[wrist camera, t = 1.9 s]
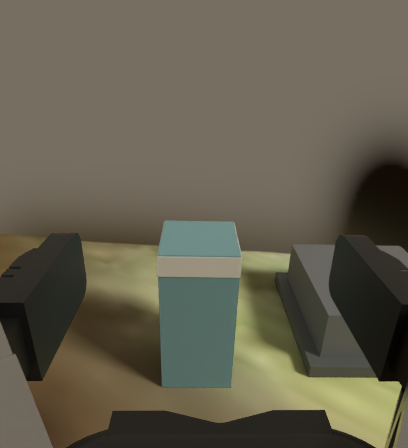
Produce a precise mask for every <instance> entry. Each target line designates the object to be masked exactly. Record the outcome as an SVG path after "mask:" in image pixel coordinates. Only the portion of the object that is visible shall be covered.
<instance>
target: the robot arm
mask: <svg viewBox="0 0 408 448" xmlns="http://www.w3.org/2000/svg"><path fill="white" fill-rule="evenodd" d="M85 291H86V272H85V265H84V258H83V251H82V244H81V239H80V236H79V234H78V233H51V234H50V235H49V236H48V237H47V239H46V240H45V241H44V242H43V243H42V244H41V245H40V246H39V248H33V249H32V250H30V251H28V252H26V253H25V254H23V255H21V256H19V257H18V258H17V259H16V260H15V261H14V262H13V263H12V264H11V265H10V267H9V269H7V270H6V271H5V272H4V273H3V274H2V275H1V277H0V448H53V447H52V444H51V441H50V439H49V436H48V434H47V431H46V429H45V426H44V424H43V421H42V419H41V416H40V414H39V411H38V409H37V406H36V404H35V401H34V399H33V396H32V394H31V391H30V389H29V386H28V384H27V381H42V380H43V378H44V376H45V374H46V372H47V370H48V368H49V366H50V364H51V362H52V360H53V358H54V356H55V354H56V352H57V350H58V348H59V346H60V344H61V342H62V340H63V338H64V336H65V334H66V332H67V330H68V328H69V326H70V324H71V322H72V320H73V318H74V316H75V314H76V312H77V310H78V308H79V306H80V304H81V302H82V300H83V297H84V295H85ZM329 292H330V295H331V298H332V300H333V302H334V303H335V305H336V307H337V309H338V310H339V312H340V314H341V316H342V317H343V319H344V321H345V323H346V324H347V326H348V328H349V329H350V331H351V333H352V335H353V336H354V338H355V340H356V342H357V343H358V345H359V347H360V349H361V350H362V352H363V354H364V356H365V357H366V359H367V361H368V363H369V364H370V366H371V368H372V370H373V371H374V373H375V375H376V377H377V378H378V380H379V381H399V382H400V384H401V385H402V388H401V391H400V394H399V397H398V400H397V404H396V408H395V411H394V415H393V419H392V422H391V426H390V430H389V433H388V437H387V441H386V444H385V448H408V268H407V267H406V266H405V265H404V264H403V263H402V262H401V261H400V260H399V259H397V258H395V257H393V256H392V255H390V254H388V253H386V252H384V251H381V250H380V249H379V248H378V247H377V246H376V245H375V244H374V243H373V242H372V241H371V240H370V239H369V238H368V237H367V236H365V235H340V236H339V237H338V238H337V240H336V244H335V249H334V254H333V260H332V265H331V270H330V276H329ZM66 448H375V447H374V446H372V445H370V444H368V443H367V442H365V441H363V440H361V439H358V438H356V437H354V436H352V435H349V434H347V433H344V432H341V431H338V430H334V429H332V428H331V426H330V423H329V420H328V418H327V415H326V412H325V410H272V411H269V412H265V413H261V414H257V415H253V416H249V417H245V418H241V419H237V420H233V421H230V422H225V423H214V422H210V421H206V420H202V419H198V418H194V417H189V416H185V415H181V414H177V413H173V412H169V411H113V412H112V416H111V420H110V424H109V428H108V430H104V431H101V432H98V433H95V434H92V435H90V436H87V437H85V438H83V439H81V440H79V441H77V442H75V443H73V444H71V445H70V446H68V447H66Z"/></svg>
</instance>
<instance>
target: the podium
mask: <svg viewBox="0 0 408 448" xmlns="http://www.w3.org/2000/svg"><path fill="white" fill-rule="evenodd" d="M377 247H378V248H379V249H380V250H381V251H384V252H386V253H388V254H390V255H392V256H393V257H395V258H397V259H399V260H400V261H401V262H402V263H403V264H404V265H405V266H406V267H407V268H408V253H407V252H406V251H405V250H404V249H402V248H401V247H400V246H377ZM334 249H335V245H300V244H292V249H291V256H290V263H289V270H288V273H276V276H275V282H276V285H277V288H278V291H279V293H280V296H281V299H282V302H283V305H284V308H285V311H286V313H287V316H288V319H289V322H290V325H291V328H292V331H293V333H294V336H295V339H296V342H297V345H298V348H299V351H300V353H301V356H302V359H303V362H304V365H305V368H306V371H307V373H308V376H309V377H376V375H375V373H374V371H373V370H372V368H371V366H370V364H369V363H368V361H367V359H366V357H365V356H364V354H363V352H362V350H361V349H360V347H359V345H358V343H357V342H356V340H355V338H354V336H353V335H352V333H351V331H350V329H349V328H348V326H347V324H346V323H345V321H344V319H343V317H342V316H341V314H340V312H339V310H338V309H337V307H336V305H335V303H334V302H333V300H332V298H331V295H330V292H329V276H330V270H331V265H332V260H333V254H334Z"/></svg>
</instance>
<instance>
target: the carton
mask: <svg viewBox="0 0 408 448" xmlns="http://www.w3.org/2000/svg"><path fill="white" fill-rule="evenodd" d="M241 266H242V255H241V251H240V246H239V242H238V238H237V233H236V228H235V224H234V222H210V221H165V222H164V226H163V230H162V235H161V239H160V244H159V248H158V253H157V277H158V283H159V314H160V344H161V374H162V387H195V388H231V378H232V366H233V353H234V341H235V328H236V316H237V304H238V291H239V279H240V278H241Z"/></svg>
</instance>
